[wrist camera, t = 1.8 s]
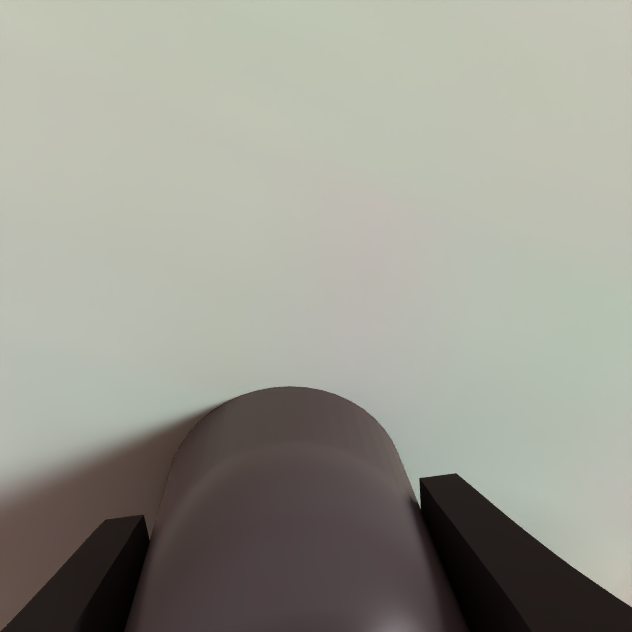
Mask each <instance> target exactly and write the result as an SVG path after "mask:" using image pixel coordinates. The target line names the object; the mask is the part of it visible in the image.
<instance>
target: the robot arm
mask: <svg viewBox="0 0 632 632" xmlns="http://www.w3.org/2000/svg"><path fill="white" fill-rule="evenodd" d="M419 479H420V500H421V511H422V514H423V516H424V519H425V521H426V524H427V526H428V529H429V531H430V534H431V536H432V539H433V541H434V544H435V546H436V549H437V551H438V554H439V556H440V559H441V561H442V564H443V566H444V568H445V571H446V573H447V576H448V578H449V581H450V583H451V586H452V588H453V591H454V593H455V596H456V598H457V601H458V603H459V606H460V608H461V611H462V613H463V616H464V618H465V621H466V623H467V626H468V628H469V631H470V632H632V607H630V606H629V605H627V604H626V603H624V602H623V601H621V600H620V599H618V598H617V597H615V596H614V595H612V594H611V593H609V592H608V591H606V590H605V589H603V588H602V587H601V586H599V585H598V584H596V583H595V582H593V581H592V580H590V579H589V578H588V577H586V576H585V575H583V574H582V573H580V572H579V571H577V570H576V569H575V568H573V567H572V566H570V565H569V564H568V563H566V562H565V561H564V560H562V559H561V558H560V557H558V556H557V555H556V554H554V553H553V552H552V551H551V550H549V549H548V548H547V547H545V546H544V545H543V544H541V543H540V542H539V541H538V540H536V539H535V538H534V537H532V536H531V535H530V534H529V533H527V532H526V531H525V530H524V529H522V528H521V527H520V526H519V525H517V524H516V523H515V522H514V521H513V520H511V519H510V518H509V517H508V516H506V515H505V514H504V513H503V512H502V511H500V510H499V509H498V508H497V507H496V506H494V505H493V504H492V503H491V502H490V501H489V500H487V499H486V498H485V497H484V496H483V495H481V494H480V493H479V492H478V491H477V490H476V489H474V488H473V487H472V486H471V485H470V484H468V483H467V482H466V481H465V480H464V479H462V478H461V477H460V476H459V475H458V474H456V473H455V474H448V475H440V476H433V477H425V478H419ZM149 542H150V540H149V536H148V531H147V527H146V523H145V518H144V515H138V516H130V517H123V518H115V519H108V520H105V521H104V522H103V523H102V524H101V525H100V526H99V527H98V528H97V529H96V530H95V531H94V532H93V533H92V534H91V535H90V537H89V538H88V539H87V540H86V541H85V542H84V543H83V544H82V545H81V546H80V547H79V549H78V550H77V551H76V552H75V553H74V554H73V555H72V556H71V557H70V558H69V560H68V561H67V562H66V563H65V564H64V565H63V566H62V567H61V568H60V569H59V571H58V572H57V573H56V574H55V575H54V576H53V577H52V578H51V579H50V580H49V581H48V582H47V583H46V585H45V586H44V587H43V588H42V589H41V590H40V591H39V592H38V593H37V594H36V595H35V596H34V597H33V598H32V599H31V601H30V602H29V603H28V604H27V605H26V606H25V607H24V608H23V609H22V610H21V611H20V612H19V613H18V614H17V615H16V617H15V618H14V619H13V620H12V621H11V622H10V623H9V624H8V625H7V626H6V627H5V628H4V629H3V630H2V631H1V632H124V630H125V627H126V623H127V620H128V616H129V613H130V609H131V606H132V602H133V599H134V595H135V591H136V588H137V584H138V581H139V577H140V574H141V570H142V567H143V563H144V560H145V556H146V553H147V549H148V546H149Z"/></svg>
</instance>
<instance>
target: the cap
mask: <svg viewBox="0 0 632 632" xmlns="http://www.w3.org/2000/svg"><path fill="white" fill-rule="evenodd" d="M124 632H470V631H469V628H468V626H467V623H466V621H465V618H464V616H463V613H462V611H461V608H460V606H459V603H458V601H457V598H456V596H455V593H454V591H453V588H452V586H451V583H450V581H449V578H448V576H447V573H446V571H445V568H444V566H443V564H442V561H441V559H440V556H439V554H438V551H437V549H436V546H435V544H434V541H433V539H432V536H431V534H430V531H429V529H428V526H427V524H426V521H425V519H424V516H423V514H422V511H421V509H420V506H419V504H418V501H417V499H416V496H415V494H414V491H413V489H412V486H411V484H410V481H409V479H408V476H407V474H406V471H405V469H404V467H403V464H402V462H401V459H400V457H399V454H398V452H397V450H396V448H395V445H394V443H393V441H392V440H391V438H390V437H389V435H388V434H387V432H386V431H385V429H384V428H383V427H382V426H381V425H380V424H379V423H378V421H377V420H376V419H375V418H374V417H372V416H371V415H370V414H369V413H368V412H366V411H365V410H364V409H362V408H361V407H359V406H358V405H356V404H354V403H353V402H351V401H349V400H347V399H345V398H343V397H340V396H338V395H336V394H332V393H329V392H326V391H323V390H318V389H312V388H307V387H290V386H289V387H274V388H268V389H262V390H257V391H254V392H251V393H247V394H244V395H241V396H239V397H237V398H234V399H232V400H230V401H228V402H226V403H224V404H223V405H221V406H219V407H218V408H216V409H214V410H213V411H211V412H210V413H209V414H208V415H206V416H205V417H204V418H203V419H202V420H200V421H199V422H198V423H197V425H196V426H195V427H194V428H193V429H192V430H191V431H190V432H189V433H188V435H187V436H186V438H185V439H184V440H183V442H182V443H181V445H180V447H179V449H178V451H177V453H176V455H175V457H174V460H173V462H172V465H171V468H170V472H169V475H168V479H167V482H166V486H165V489H164V493H163V496H162V500H161V503H160V507H159V510H158V514H157V517H156V521H155V524H154V528H153V531H152V535H151V539H150V542H149V546H148V549H147V553H146V556H145V560H144V563H143V567H142V570H141V574H140V577H139V581H138V584H137V588H136V591H135V595H134V599H133V602H132V606H131V609H130V613H129V616H128V620H127V623H126V627H125V630H124Z"/></svg>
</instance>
